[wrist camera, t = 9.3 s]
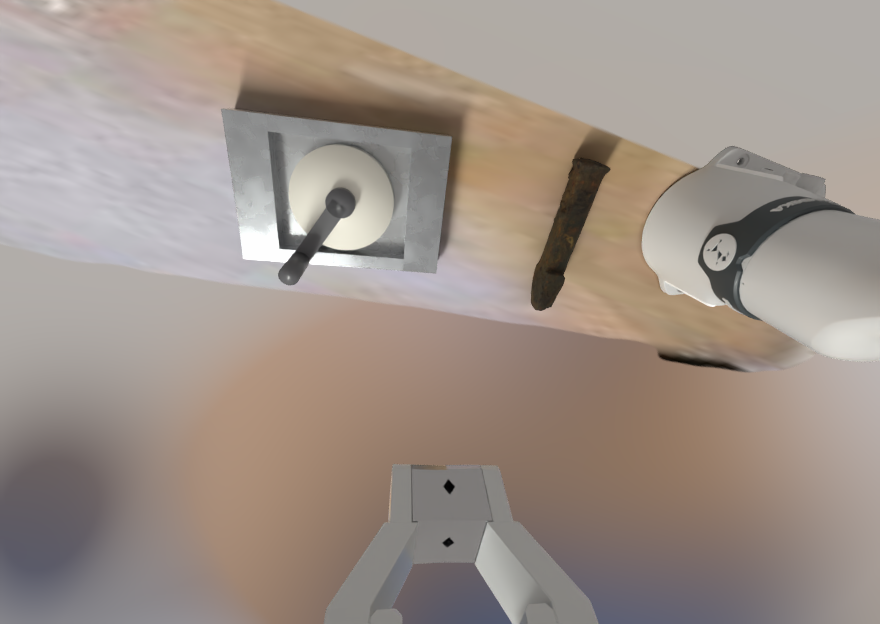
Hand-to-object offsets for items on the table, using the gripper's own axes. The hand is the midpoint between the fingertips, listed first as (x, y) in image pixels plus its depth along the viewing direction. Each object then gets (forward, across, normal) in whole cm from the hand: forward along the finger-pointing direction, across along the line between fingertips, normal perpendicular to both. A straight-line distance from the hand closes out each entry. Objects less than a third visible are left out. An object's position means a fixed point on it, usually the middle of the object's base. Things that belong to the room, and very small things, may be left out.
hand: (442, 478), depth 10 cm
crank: (+36, +9, +2) cm, 37 cm away
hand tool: (+38, -19, +3) cm, 42 cm away
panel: (+37, +8, 0) cm, 38 cm away
